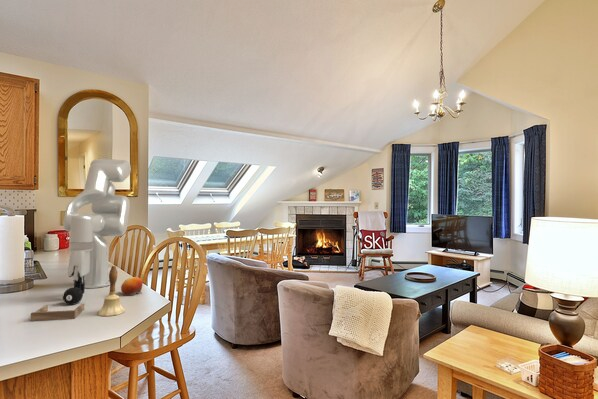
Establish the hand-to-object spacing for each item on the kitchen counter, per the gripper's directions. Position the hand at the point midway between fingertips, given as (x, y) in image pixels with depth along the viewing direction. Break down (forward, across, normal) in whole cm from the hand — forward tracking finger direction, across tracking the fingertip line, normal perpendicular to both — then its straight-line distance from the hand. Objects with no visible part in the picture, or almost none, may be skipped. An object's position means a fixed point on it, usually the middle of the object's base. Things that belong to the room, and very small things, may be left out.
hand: (78, 293), depth 131 cm
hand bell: (+2, +20, +16) cm, 26 cm away
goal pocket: (+2, +20, 0) cm, 20 cm away
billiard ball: (+2, +7, 0) cm, 7 cm away
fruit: (+2, -4, +18) cm, 19 cm away
